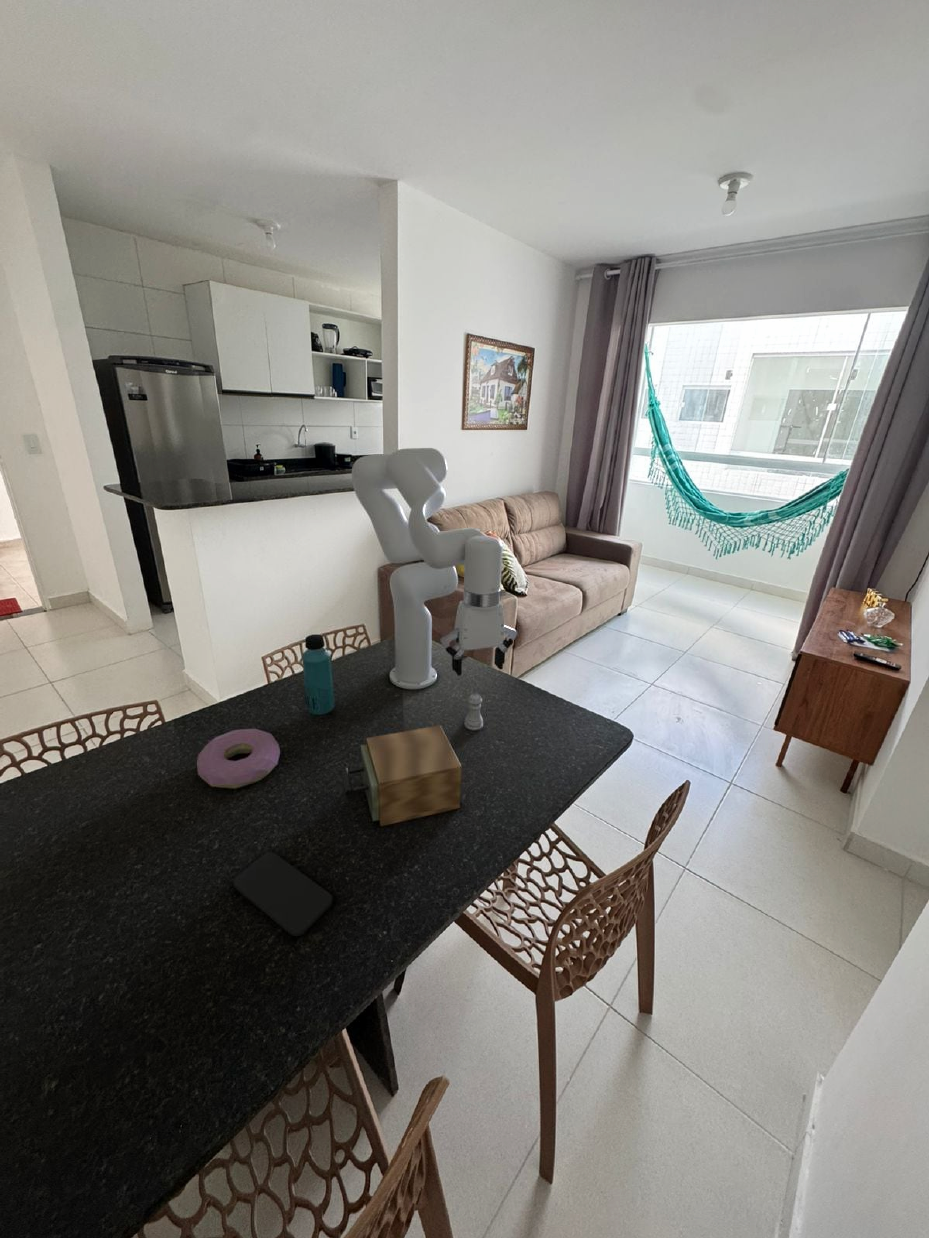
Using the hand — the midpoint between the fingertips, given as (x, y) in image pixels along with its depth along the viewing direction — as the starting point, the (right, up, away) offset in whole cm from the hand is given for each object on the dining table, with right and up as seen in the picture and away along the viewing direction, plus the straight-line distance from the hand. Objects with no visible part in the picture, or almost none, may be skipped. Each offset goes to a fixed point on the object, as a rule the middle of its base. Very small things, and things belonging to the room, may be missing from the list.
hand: (478, 669), depth 112 cm
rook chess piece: (-1, -14, +6) cm, 15 cm away
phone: (-31, -31, -35) cm, 56 cm away
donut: (-48, -19, -10) cm, 52 cm away
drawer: (-17, -22, -16) cm, 32 cm away
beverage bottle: (-37, -11, +9) cm, 40 cm away
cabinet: (-13, -22, -14) cm, 29 cm away
